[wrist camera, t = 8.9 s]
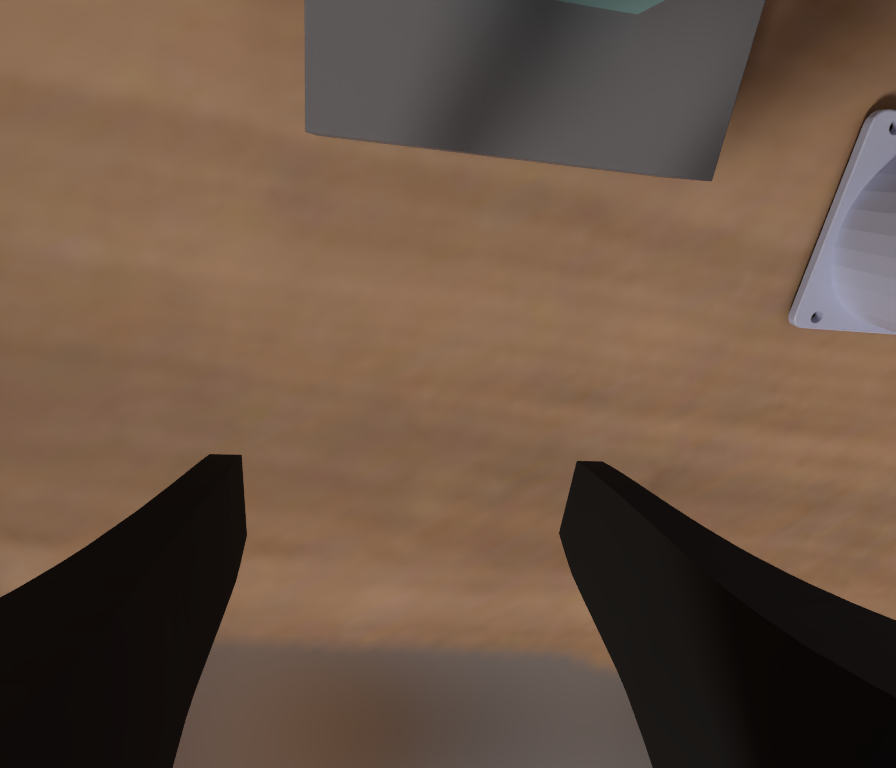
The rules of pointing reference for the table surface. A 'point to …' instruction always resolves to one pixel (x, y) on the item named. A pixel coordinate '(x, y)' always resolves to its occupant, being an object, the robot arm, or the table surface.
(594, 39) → the plinth
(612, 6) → the teal block
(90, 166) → the table surface
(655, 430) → the table surface
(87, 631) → the robot arm
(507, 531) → the table surface
